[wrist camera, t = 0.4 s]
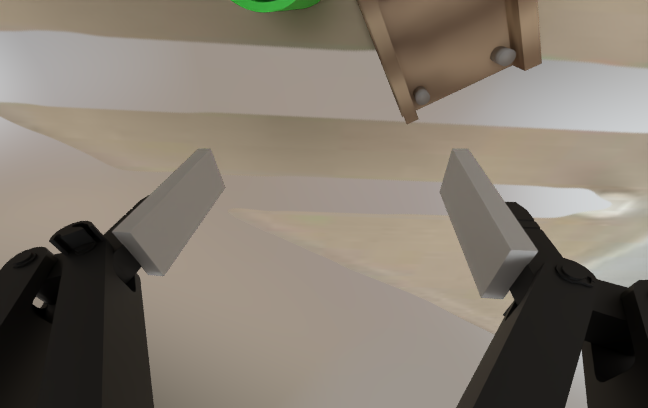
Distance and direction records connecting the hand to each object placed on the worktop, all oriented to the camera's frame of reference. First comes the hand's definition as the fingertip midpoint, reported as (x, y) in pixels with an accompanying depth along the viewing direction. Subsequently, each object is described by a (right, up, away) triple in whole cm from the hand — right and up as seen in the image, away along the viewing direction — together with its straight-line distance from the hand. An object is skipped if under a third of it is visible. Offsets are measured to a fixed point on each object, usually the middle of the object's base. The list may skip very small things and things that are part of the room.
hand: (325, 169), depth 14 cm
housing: (+13, +19, +15) cm, 28 cm away
